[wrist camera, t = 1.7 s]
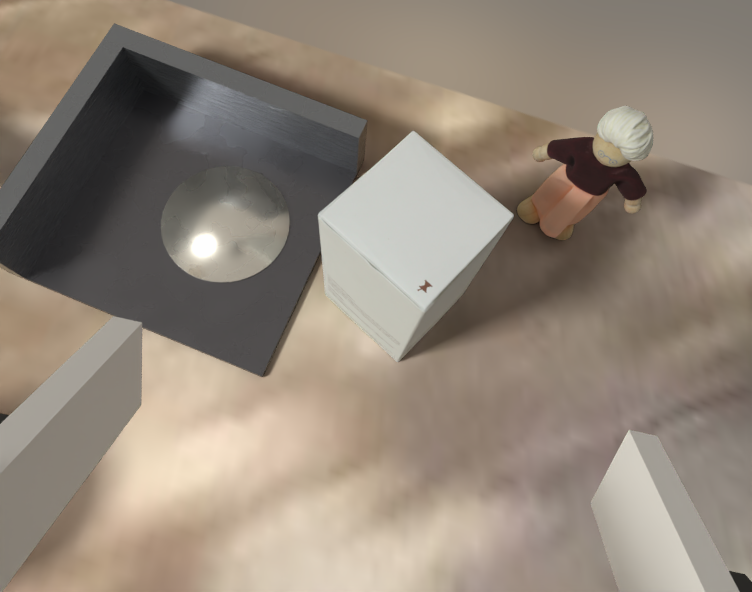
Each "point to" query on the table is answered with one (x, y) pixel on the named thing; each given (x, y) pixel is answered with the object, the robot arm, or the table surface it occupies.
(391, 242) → the supplement box
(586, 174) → the grandmother figurine
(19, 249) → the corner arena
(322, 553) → the table surface
